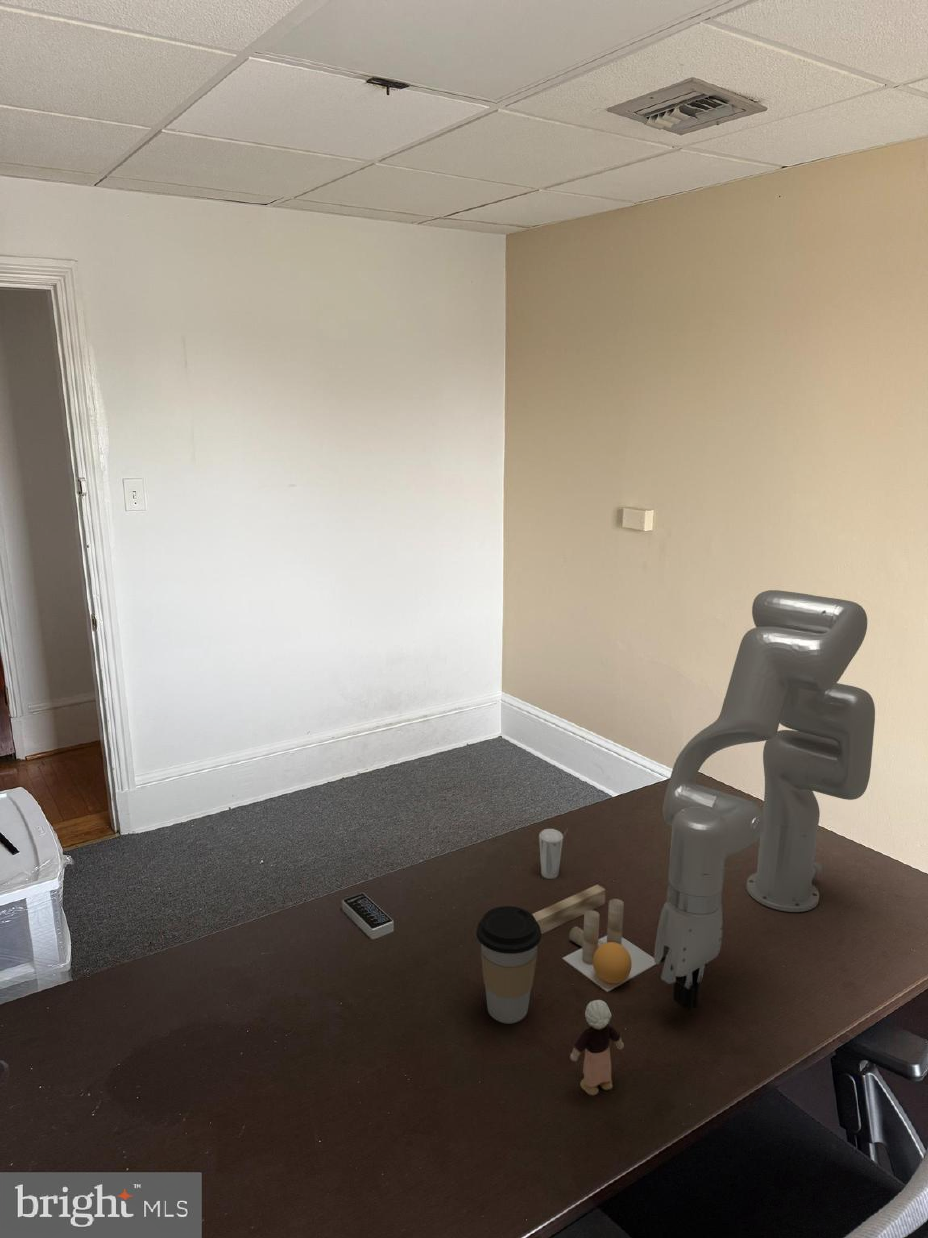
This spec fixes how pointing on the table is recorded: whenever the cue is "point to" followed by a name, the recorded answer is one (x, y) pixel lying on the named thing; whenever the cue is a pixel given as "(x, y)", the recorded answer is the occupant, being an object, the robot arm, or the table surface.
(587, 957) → the left pin
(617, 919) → the right pin
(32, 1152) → the table surface
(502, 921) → the coffee cup
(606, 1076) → the grandmother figurine
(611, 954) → the ball
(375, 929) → the multiport hub
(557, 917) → the back rail
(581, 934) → the front pin
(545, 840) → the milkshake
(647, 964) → the pin deck mark
